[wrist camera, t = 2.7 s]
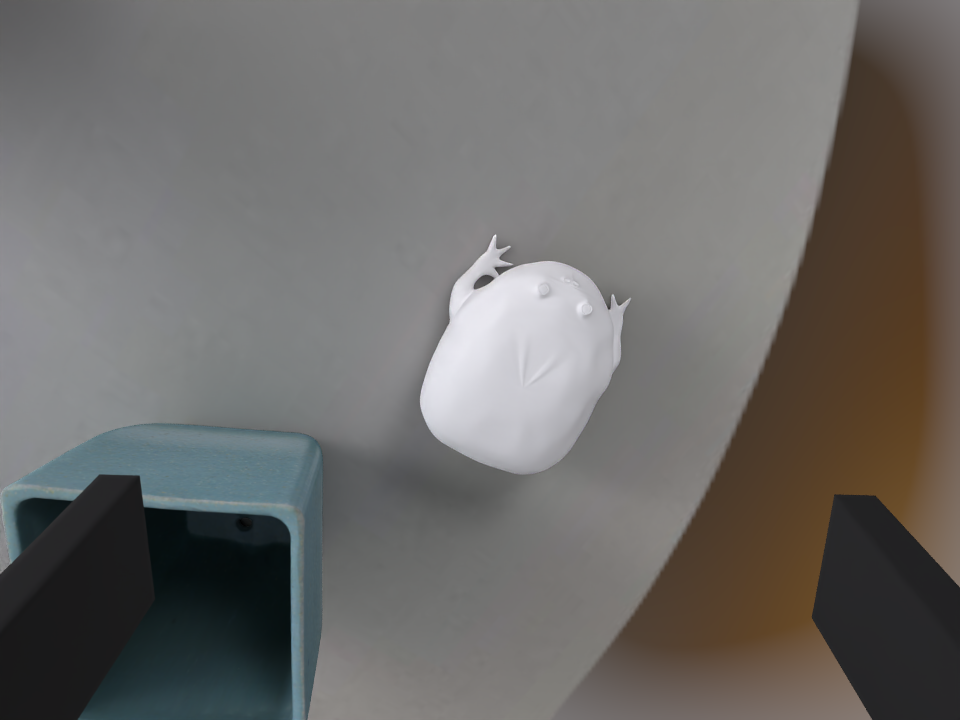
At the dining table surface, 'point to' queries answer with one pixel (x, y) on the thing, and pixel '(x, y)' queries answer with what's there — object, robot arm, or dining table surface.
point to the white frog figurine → (521, 363)
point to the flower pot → (204, 567)
